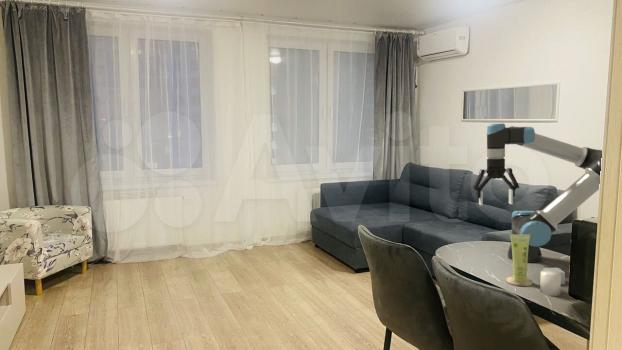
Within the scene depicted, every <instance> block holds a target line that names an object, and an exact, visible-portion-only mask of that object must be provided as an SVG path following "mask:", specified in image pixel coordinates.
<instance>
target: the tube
mask: <svg viewBox="0 0 622 350" xmlns="http://www.w3.org/2000/svg"><path fill="white" fill-rule="evenodd" d="M509 236H510V244H511V245H512V256H513V260H512V271H513V272H512V274H513V275H512V276H513V278H514V280H515V281H518V282H525V281H526V280H527V278H528V262H527V259H528V248H529V240H530V235H522V234H512V233H510V234H509Z"/></svg>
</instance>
